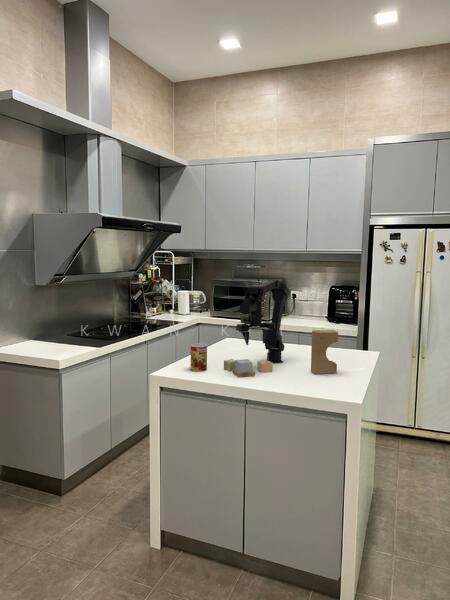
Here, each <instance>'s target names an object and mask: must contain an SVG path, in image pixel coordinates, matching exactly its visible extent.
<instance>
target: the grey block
mask: <svg viewBox="0 0 450 600" xmlns="http://www.w3.org/2000/svg"><path fill="white" fill-rule="evenodd" d="M235 360H236V370H237V371H238V372H239V373H245V372H252V371H253V362H252V360H250V359H248V358H247V359H246V358H245V359H244V358H243V359H235Z"/></svg>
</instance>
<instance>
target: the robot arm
mask: <svg viewBox="0 0 450 600" xmlns="http://www.w3.org/2000/svg"><path fill="white" fill-rule="evenodd" d="M268 292H270V293H271V294H272V295H271V297H272V300H273V302H274V303H273V308H272V315H271V321H263V320H262V319H263V317H264V314H263V303H264V302H265V300H264V299H263V298H264V297H265V296H266V294H267V293H268ZM289 296H290V289H289V288H288V286H287V285H286V284H284V283H283V282H281V280H280V279H270V280H268V281H266V282H264V283H261V284H257V285H256V284H254V285H250V286H248V289H247V292H246V294H245V296H244V299H243V301H242V302H241V304H240V305H239V312H240V313H241V314H242V316H240V323H238V324H236V327H235V330H236V331H238V332H239V333H241V335H242V337H243V339H244V343H245V345H246V346H248V345H249V343H250V331H249V330H253V329H254V330H255V329H261V330H262V345H263V344H264V347H265V350H267V352H266V353H267V354H266V360H268V361H270V362H272V364H275V363H277V364H278V363H283V361H282V352H284V350H285V344H284V342H283V341H282V340H283V336H282V334H281V332H280V331H281V325H282V319H283V318H282V317H283V310H284V304H285V303H286V302H287V300H288V298H289ZM246 315H248V316H246Z"/></svg>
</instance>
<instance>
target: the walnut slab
mask: <svg viewBox="0 0 450 600" xmlns="http://www.w3.org/2000/svg"><path fill="white" fill-rule="evenodd" d="M232 374H233V375H234V376H235V377H236V378H239V379H240V378H254V377H256V371H254V370H252V372H245V373H239V372H238V371H237V370H236V369H233V371H232Z"/></svg>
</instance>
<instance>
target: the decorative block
mask: <svg viewBox="0 0 450 600" xmlns="http://www.w3.org/2000/svg"><path fill="white" fill-rule="evenodd" d="M338 342H339V332H338V330H334V329H319V330H318V329H317V330H316V329H314V330H312V332H311V348H310V349H311V351H310V352H311V354H310V355H311V358H310V372H311V373H312V374H314V375H331V374H332V375H334V374H337V373H338V369H337V368H338V364H337V362H335V361H333V360H329V358H328V357H327V350H328V348H329V347H330V346H332V344H333V343H338Z"/></svg>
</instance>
